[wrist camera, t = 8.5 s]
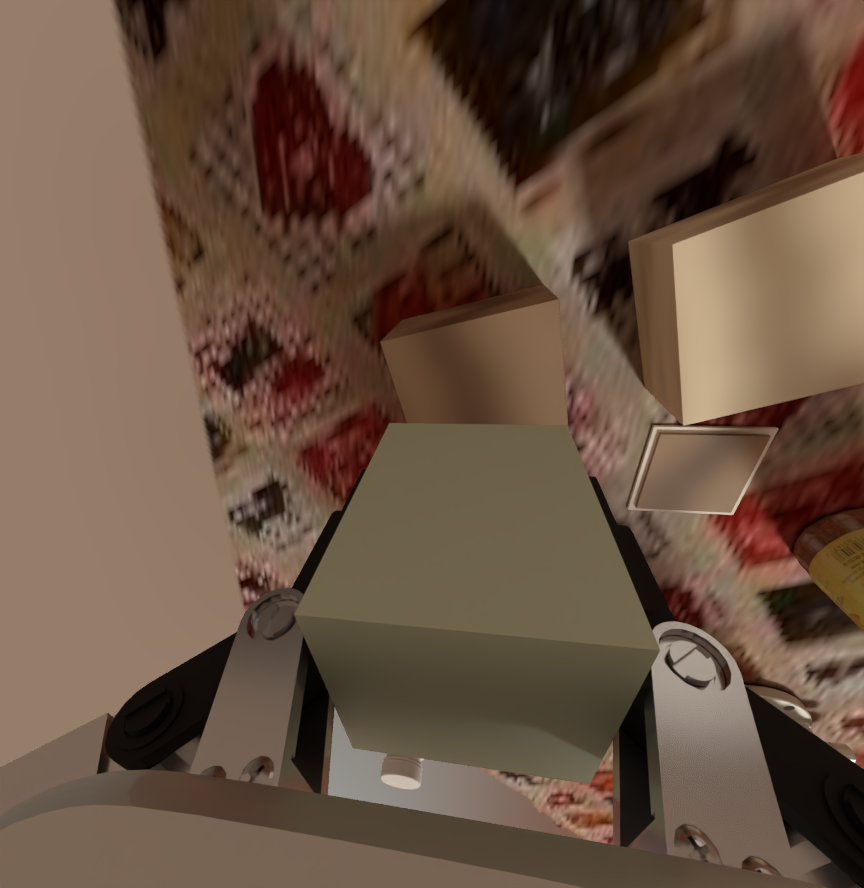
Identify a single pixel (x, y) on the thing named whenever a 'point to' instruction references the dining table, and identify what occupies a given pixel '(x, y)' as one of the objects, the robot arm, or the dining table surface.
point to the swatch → (698, 468)
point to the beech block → (755, 296)
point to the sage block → (478, 604)
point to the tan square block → (482, 362)
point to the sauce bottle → (837, 559)
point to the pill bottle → (402, 771)
